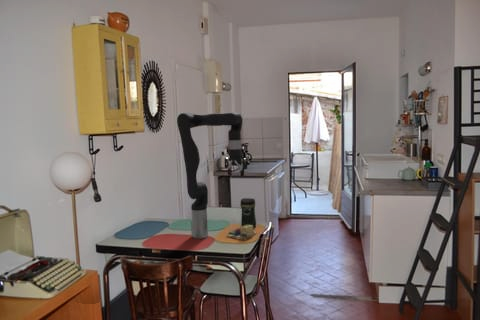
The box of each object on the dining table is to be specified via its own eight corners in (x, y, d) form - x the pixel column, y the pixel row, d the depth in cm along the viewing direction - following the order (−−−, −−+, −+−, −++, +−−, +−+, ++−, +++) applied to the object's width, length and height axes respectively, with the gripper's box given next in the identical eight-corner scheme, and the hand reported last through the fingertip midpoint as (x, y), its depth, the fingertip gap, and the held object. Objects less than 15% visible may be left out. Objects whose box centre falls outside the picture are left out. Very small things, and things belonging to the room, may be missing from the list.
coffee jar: (257, 224, 264) (256, 197, 262) (254, 228, 256) (253, 200, 254) (243, 224, 267) (242, 196, 264) (240, 227, 259) (238, 199, 257)
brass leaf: (240, 235, 239) (240, 227, 238) (247, 232, 244) (246, 224, 244) (246, 236, 236) (246, 228, 236) (253, 233, 242) (253, 225, 241)
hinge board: (226, 236, 241) (226, 230, 241) (239, 230, 252) (239, 225, 251) (244, 240, 234) (244, 234, 233) (256, 234, 244) (256, 228, 244)
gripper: (221, 148, 228) (222, 176, 230) (241, 149, 219) (242, 178, 221) (228, 147, 234) (230, 174, 236) (249, 147, 225) (250, 176, 227)
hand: (236, 176), depth 229 cm, fingers open, 8 cm apart
